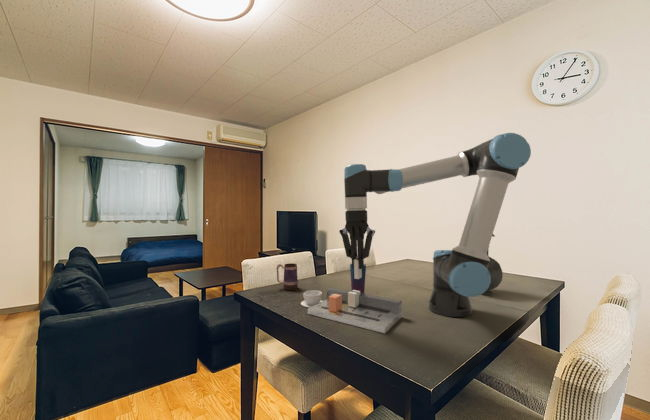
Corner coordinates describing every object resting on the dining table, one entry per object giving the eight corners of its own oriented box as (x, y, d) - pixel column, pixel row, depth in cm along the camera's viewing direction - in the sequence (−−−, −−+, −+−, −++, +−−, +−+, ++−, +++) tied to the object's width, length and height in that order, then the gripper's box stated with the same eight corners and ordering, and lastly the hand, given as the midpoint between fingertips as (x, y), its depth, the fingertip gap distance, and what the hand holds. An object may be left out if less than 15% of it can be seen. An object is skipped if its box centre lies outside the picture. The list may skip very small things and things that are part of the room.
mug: (297, 286, 144) (297, 262, 144) (298, 290, 137) (298, 265, 137) (277, 287, 142) (276, 262, 142) (276, 291, 135) (276, 265, 135)
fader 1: (342, 308, 106) (342, 294, 106) (335, 312, 102) (335, 297, 102) (334, 307, 107) (334, 292, 107) (328, 310, 104) (328, 296, 104)
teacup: (329, 303, 119) (329, 291, 119) (315, 310, 111) (315, 298, 111) (310, 298, 125) (310, 288, 125) (295, 305, 117) (295, 293, 117)
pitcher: (487, 299, 124) (487, 229, 123) (454, 287, 142) (454, 226, 141) (506, 296, 127) (507, 228, 126) (472, 285, 145) (472, 225, 145)
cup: (365, 302, 119) (365, 266, 119) (349, 301, 120) (349, 265, 120) (366, 297, 126) (366, 263, 126) (350, 296, 127) (350, 262, 127)
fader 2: (360, 304, 110) (360, 290, 110) (355, 307, 107) (355, 293, 107) (353, 302, 112) (353, 289, 112) (347, 305, 108) (347, 292, 108)
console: (401, 317, 103) (401, 300, 103) (384, 333, 90) (384, 314, 90) (330, 301, 120) (330, 287, 120) (307, 313, 107) (307, 297, 107)
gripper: (378, 209, 99) (380, 277, 99) (345, 209, 106) (346, 273, 107) (368, 209, 93) (371, 282, 93) (334, 210, 100) (336, 278, 100)
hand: (358, 277), depth 100 cm, fingers closed
